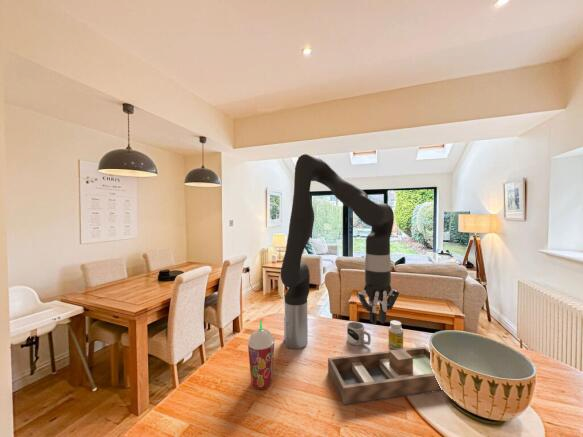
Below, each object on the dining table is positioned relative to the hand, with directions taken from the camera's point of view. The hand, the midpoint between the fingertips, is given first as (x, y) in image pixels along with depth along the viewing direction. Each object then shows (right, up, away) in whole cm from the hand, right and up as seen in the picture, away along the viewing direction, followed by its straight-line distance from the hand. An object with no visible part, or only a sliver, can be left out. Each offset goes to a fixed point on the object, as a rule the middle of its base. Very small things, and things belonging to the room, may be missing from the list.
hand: (377, 322), depth 77 cm
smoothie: (-36, -20, +1) cm, 41 cm away
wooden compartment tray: (+4, -19, +1) cm, 19 cm away
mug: (+1, -18, +23) cm, 30 cm away
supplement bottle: (+14, -18, +20) cm, 31 cm away
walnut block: (+8, -16, +2) cm, 18 cm away
